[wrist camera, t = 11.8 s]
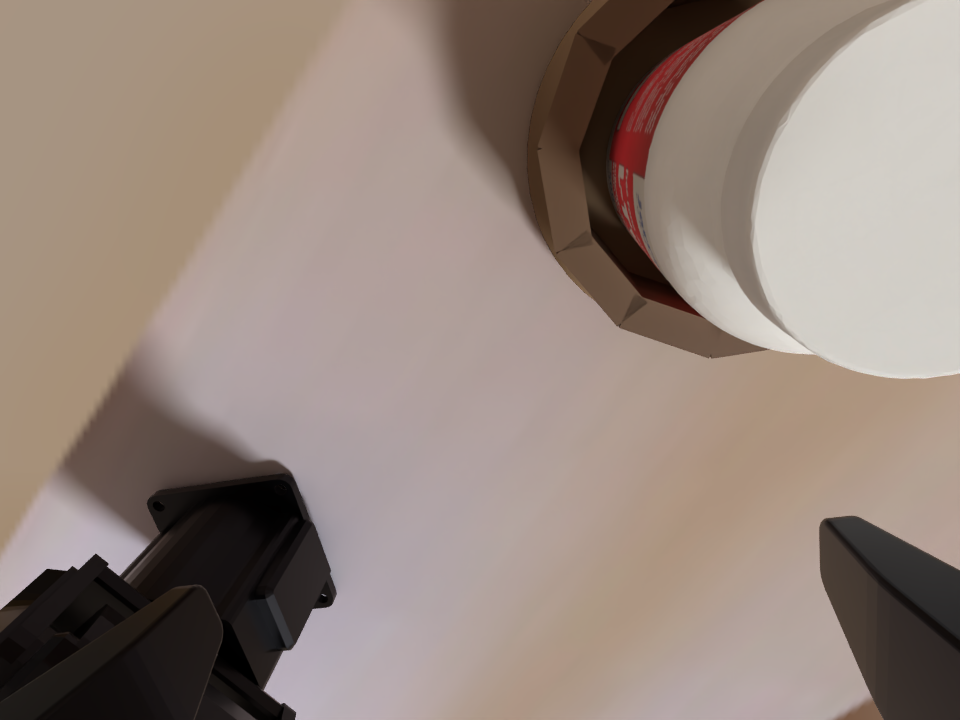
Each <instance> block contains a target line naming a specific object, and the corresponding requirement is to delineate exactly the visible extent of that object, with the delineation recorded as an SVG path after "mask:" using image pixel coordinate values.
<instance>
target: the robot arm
mask: <svg viewBox="0 0 960 720" xmlns="http://www.w3.org/2000/svg"><path fill="white" fill-rule="evenodd" d="M279 485H283V486H285V488H286V489H287V490H283V489H282V488H280V486H279ZM160 502H161V503H163V505H162V504H161V503H160ZM147 506H148V509H149V511H150V513H151V515H152V517H153V519H154V521H155V523H156V525H157V528H158V530H159V532H160V534H159V535H158V536H157V537H156V538H155V539H154V540H153V541H152V542H151V543H150V544H149V545H148V546H147V548H146V549H145V550H144V551H143V552H142V553H141V554H140V555H139V556H138V557H137V558H136V559H135V560H134V561H133V562H132V563H131V564H130V565H129V567H128V568H127V569H126V570H125V571H124V572H123V573H122V574H121V575H120V576H118V575H117V574H116V573H114V572H113V571H112V570H111V569H109V568H108V567H107V566H108V563H107V562H106V561H105V560H103V559H102V558H101V557H100V556H98V555H97V554H95V555H94V556H93V557H92V558H91V559H90V560H88V561H87V562H86V563H85V564H84V565H83V566H82V567H81V568H80V569H79V570H77V569H76V568H75V567H73V566H72V567H71V568H70V569H69V570H68V571H62V570H53V569H46V570H45V571H44V572H43V573H42V574H41V575H40V576H38V577H37V578H36V579H35V580H34V581H33V582H32V583H31V584H29V585H28V586H27V587H26V588H25V589H24V590H23V591H22V592H20V593H19V594H18V595H17V596H16V597H15V598H14V599H13V600H11V601H10V602H9V603H8V604H7V605H6V606H4V607H3V608H2V609H1V610H0V720H295V717H296V712H295V711H294V710H292V709H291V708H290V707H289V706H287V705H286V704H285V703H283V704H280V703H279V702H277V701H276V700H275V699H274V698H272V697H271V696H270V695H268V694H267V693H266V692H265V691H263V690H264V688H265V686H266V684H267V682H268V680H269V678H270V676H271V674H272V672H273V670H274V668H275V666H276V664H277V662H278V660H279V658H280V656H281V654H282V652H283V651H285V650H291V649H292V648H293V647H294V645H295V644H296V642H297V640H298V638H299V636H300V634H301V632H302V630H303V628H304V626H305V624H306V622H307V619H308V617H309V615H310V613H311V611H312V609H316V608H326V607H330V606H331V605H332V604H333V602H334V599H335V597H336V595H337V593H336V589H335V586H334V583H333V581H332V578H331V575H330V572H331V569H330V566H329V564H328V561H327V558H326V555H325V553H324V550H323V547H322V545H321V542H320V539H319V537H318V534H317V531H316V528H315V526H314V524H313V523H312V522H311V521H310V519H309V516H308V514H307V511H306V508H305V505H304V503H303V500H302V497H301V495H300V492H299V489H298V487H297V484H296V482H295V480H294V479H293V478H292V477H291V476H289V475H286V474H277V475H269V476H262V477H255V478H248V479H240V480H233V481H226V482H219V483H212V484H204V485H197V486H190V487H183V488H176V489H168V490H161V491H158V492H156V493H155V494H153V495H152V496H151V497H150V498H149V499H148V502H147ZM819 541H820V572H821V578H822V582H823V585H824V588H825V590H826V592H827V595H828V597H829V599H830V602H831V604H832V606H833V609H834V611H835V613H836V616H837V618H838V620H839V622H840V625H841V627H842V629H843V632H844V634H845V636H846V639H847V641H848V643H849V646H850V648H851V650H852V652H853V655H854V657H855V659H856V662H857V664H858V666H859V669H860V671H861V673H862V676H863V678H864V680H865V683H866V685H867V687H868V689H869V691H870V694H871V696H872V698H873V700H874V702H875V704H876V706H877V708H878V710H879V712H880V714H881V716H882V718H883V719H884V720H960V570H958V569H956V568H954V567H953V566H951V565H949V564H947V563H945V562H943V561H941V560H939V559H937V558H936V557H934V556H932V555H930V554H928V553H926V552H924V551H922V550H920V549H918V548H917V547H915V546H913V545H911V544H909V543H907V542H905V541H903V540H901V539H899V538H898V537H896V536H894V535H892V534H890V533H888V532H886V531H884V530H882V529H880V528H879V527H877V526H875V525H873V524H871V523H869V522H867V521H865V520H863V519H861V518H859V517H857V516H844V517H834V518H826V519H824V520H823V521H822V522H821V524H820V527H819ZM321 594H324V595H326V596H323V595H321Z"/></svg>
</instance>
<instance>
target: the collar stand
mask: <svg viewBox="0 0 960 720" xmlns="http://www.w3.org/2000/svg"><path fill="white" fill-rule="evenodd" d="M761 1H763V0H593V1H592V2H591V3H590V4H589V5H588V6H587V7H586V9H585V10H584V11H583V12H582V13H581V14H580V15H579V16H578V18H577V19H576V21H575V22H574V24H573V25H572V26H571V28H570V29H569V31H568V32H567V34H566V35H565V36H564V38H563V39H562V41H561V43H560V45H559V46H558V48H557V50H556V52H555V54H554V56H553V58H552V59H551V61H550V63H549V65H548V67H547V70H546V72H545V75H544V77H543V80H542V83H541V85H540V88H539V90H538V93H537V97H536V101H535V105H534V109H533V112H532V116H531V122H530V130H529V137H528V150H527V171H528V180H529V189H530V196H531V200H532V204H533V208H534V212H535V216H536V219H537V221H538V224H539V227H540V229H541V232H542V234H543V237H544V239H545V241H546V243H547V245H548V246H549V248H550V250H551V252H552V254H553V255H554V257H555V259H556V260H557V262H558V263H559V264H560V266H561V267H562V268H563V270H564V271H565V272H566V274H567V275H568V276H569V277H570V278H571V279H572V280H573V282H574V283H575V284H576V285H577V286H578V287H579V288H580V289H581V290H582V291H583V292H584V293H586V294H587V295H588V296H589V297H591V298H592V299H593V300H595V301H596V302H597V303H598V304H599V306H600V307H601V308H602V309H603V310H604V312H605V313H606V314H607V315H608V316H609V317H610V319H611V320H612V321H613V322H614V323H615V324H616V326H618V325H619V328H621V329H624V330H627V331H630V332H633V333H636V334H639V335H642V336H645V337H648V338H651V339H654V340H657V341H660V342H662V343H665V344H668V345H671V346H674V347H677V348H680V349H683V350H686V351H689V352H692V353H695V354H698V355H701V356H704V357H706V358H709V357H711V358H719V357H725V356H731V355H738V354H744V353H751V352H757V351H764V350H770V349H767V348H764V347H760V346H757V345H753V344H751V343H748V342H746V341H743V340H741V339H739V338H737V337H735V336H733V335H731V334H729V333H727V332H725V331H723V330H721V329H720V328H718V327H717V326H715V325H714V324H712V323H711V322H710V321H708V320H707V319H706V318H704V317H703V316H702V315H700V314H699V313H698V312H697V311H696V310H695V309H694V308H692V307H691V306H690V305H689V304H688V303H687V302H686V301H685V300H684V299H683V298H682V297H681V296H680V295H679V294H678V293H677V291H676V290H675V289H674V288H673V286H672V285H671V284H670V282H669V281H668V280H667V279H666V278H665V277H664V275H663V274H662V273H661V272H660V271H659V269H658V268H657V267H656V266H655V265H654V263H653V262H652V261H651V260H650V258H649V257H648V256H647V255H646V253H645V252H644V251H643V250H642V248H641V247H640V246H639V245H638V243H637V242H636V241H635V240H634V238H633V237H632V236H631V235H630V233H629V232H628V231H627V230H626V228H625V227H624V225H623V224H622V222H621V221H620V219H619V217H618V215H617V213H616V211H615V208H614V206H613V203H612V200H611V197H610V193H609V189H608V184H607V174H606V158H607V148H608V142H609V138H610V134H611V131H612V128H613V125H614V122H615V120H616V117H617V115H618V113H619V111H620V109H621V107H622V105H623V103H624V102H625V100H626V98H627V97H628V95H629V94H630V92H631V91H632V90H633V88H634V87H635V86H636V84H637V83H638V82H639V81H640V80H641V79H642V77H643V76H644V75H645V74H646V73H647V72H649V71H650V70H651V69H652V68H653V67H654V66H655V65H656V64H658V63H659V62H660V61H661V60H662V59H664V58H665V57H667V56H668V55H669V54H671V53H672V52H674V51H675V50H677V49H679V48H680V47H682V46H684V45H685V44H687V43H689V42H691V41H693V40H694V39H696V38H698V37H700V36H701V35H703V34H705V33H707V32H709V31H710V30H712V29H714V28H715V27H717V26H719V25H721V24H723V23H724V22H726V21H728V20H730V19H732V18H733V17H735V16H737V15H739V14H740V13H742V12H744V11H745V10H747V9H749V8H751V7H753V6H754V5H756V4H758V3H759V2H761Z"/></svg>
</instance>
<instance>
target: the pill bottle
mask: <svg viewBox="0 0 960 720" xmlns="http://www.w3.org/2000/svg"><path fill="white" fill-rule="evenodd" d="M606 174H607V184H608V189H609V193H610V197H611V200H612V203H613V206H614V208H615V211H616V213H617V215H618V217H619V219H620V221H621V222H622V224H623V225H624V227H625V228H626V230H627V231H628V232H629V233H630V235H631V236H632V237H633V238H634V240H635V241H636V242H637V243H638V245H639V246H640V247H641V248H642V250H643V251H644V252H645V253H646V255H647V256H648V257H649V258H650V260H651V261H652V262H653V263H654V265H655V266H656V267H657V268H658V269H659V271H660V272H661V273H662V274H663V275H664V277H665V278H666V279H667V280H668V281H669V282H670V284H671V285H672V286H673V288H674V289H675V290H676V291H677V293H678V294H679V295H680V296H681V297H682V298H683V299H684V300H685V301H686V302H687V303H688V304H689V305H690V306H691V307H692V308H694V309H695V310H696V311H697V312H698V313H699V314H700V315H702V316H703V317H704V318H706V319H707V320H708V321H710V322H711V323H712V324H714V325H715V326H717V327H718V328H720V329H721V330H723V331H725V332H727V333H729V334H731V335H733V336H735V337H737V338H739V339H741V340H743V341H746V342H748V343H751V344H753V345H757V346H760V347H764V348H767V349H771V350H775V351H781V352H787V353H797V354H816V355H818V356H819V357H821V358H823V359H824V360H826V361H828V362H831V363H834V364H836V365H839V366H841V367H844V368H847V369H850V370H853V371H856V372H860V373H865V374H870V375H875V376H881V377H888V378H902V379H909V378H931V377H938V376H946V375H953V374H958V373H960V0H763V1H761V2H759V3H758V4H756V5H754V6H753V7H751V8H749V9H747V10H745V11H744V12H742V13H740V14H739V15H737V16H735V17H733V18H732V19H730V20H728V21H726V22H724V23H723V24H721V25H719V26H717V27H715V28H714V29H712V30H710V31H709V32H707V33H705V34H703V35H701V36H700V37H698V38H696V39H694V40H693V41H691V42H689V43H687V44H685V45H684V46H682V47H680V48H679V49H677V50H675V51H674V52H672V53H671V54H669V55H668V56H667V57H665V58H664V59H662V60H661V61H660V62H659V63H658V64H656V65H655V66H654V67H653V68H652V69H651V70H650V71H649V72H647V73H646V74H645V75H644V76H643V77H642V79H641V80H640V81H639V82H638V83H637V84H636V86H635V87H634V88H633V90H632V91H631V92H630V94H629V95H628V97H627V98H626V100H625V102H624V103H623V105H622V107H621V109H620V111H619V113H618V115H617V117H616V120H615V122H614V125H613V128H612V131H611V134H610V138H609V142H608V148H607V158H606Z"/></svg>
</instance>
